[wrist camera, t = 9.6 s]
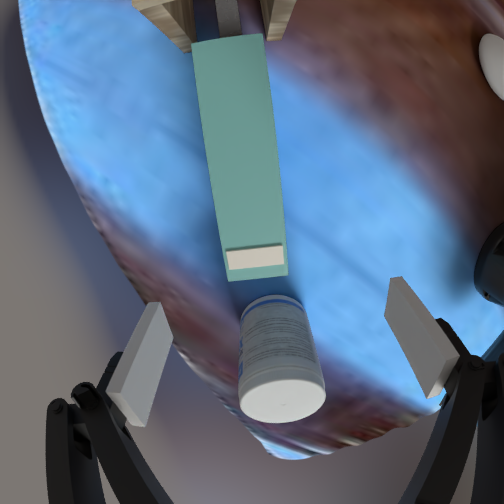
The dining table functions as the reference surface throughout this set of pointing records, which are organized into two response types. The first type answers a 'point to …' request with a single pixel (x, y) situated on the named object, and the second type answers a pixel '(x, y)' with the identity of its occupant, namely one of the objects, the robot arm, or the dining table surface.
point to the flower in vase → (493, 62)
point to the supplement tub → (278, 362)
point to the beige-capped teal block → (242, 154)
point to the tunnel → (183, 21)
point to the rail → (228, 18)
